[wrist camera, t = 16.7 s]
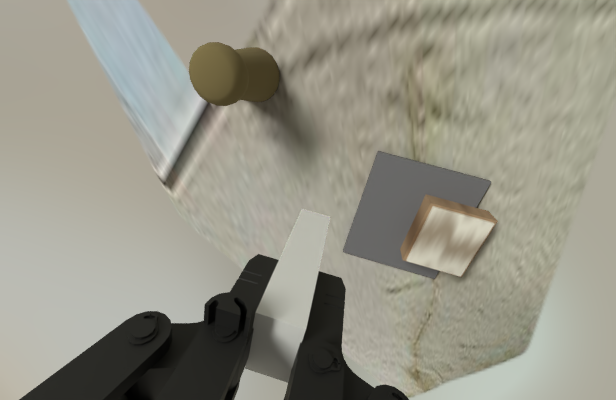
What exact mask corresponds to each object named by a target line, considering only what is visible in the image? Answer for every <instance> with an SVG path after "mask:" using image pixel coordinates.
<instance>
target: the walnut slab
mask: <svg viewBox="0 0 616 400" xmlns="http://www.w3.org/2000/svg"><path fill="white" fill-rule="evenodd" d="M497 222H498V221H497V220H496V219H495V218H494V217H493V216H492V215H491V214H490V212H489V211H486V210H482V209H478V208H475V207H471V206H467V205H464V204H460V203H456V202H453V201H449V200H445V199H441V198H438V197H434V196H430V195H427V194H426V195H425V197H424V199H423V201H422V204H421V206H420V208H419V210H418V212H417V214H416V216H415V218H414V220H413V223H412V225H411V227H410V229H409V231H408V233H407V235H406V237H405V240H404V242H403V244H402V246H401V248H400V251H401V255H402V260H404V261H407V262H411V263H414V264H417V265H421V266H424V267H428V268H431V269H435V270H438V271H442V272H445V273H449V274H452V275H456V276H459V277H462V276H463V274H464V273H465V271H466V270H467V268H468V267H469V265H470V263H471V262H472V260H473V259H474V257H475V256H476V254H477V253H478V251H479V250H480V248H481V246H482V245H483V243H484V242H485V240H486V239H487V237H488V236H489V234H490V232H491V231H492V229H493V228H494V226H495V225H496V223H497Z"/></svg>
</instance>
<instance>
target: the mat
mask: <svg viewBox="0 0 616 400" xmlns="http://www.w3.org/2000/svg"><path fill="white" fill-rule="evenodd" d="M490 184H491V181H489V180H486V179H482V178H478V177H475V176H471V175H467V174H463V173H460V172H456V171H452V170H448V169H445V168H441V167H437V166H433V165H430V164H426V163H422V162H418V161H414V160H411V159H407V158H403V157H399V156H396V155H392V154H388V153H384V152H381V151H378V152H377V155H376V158H375V161H374V164H373V166H372V169H371V172H370V175H369V178H368V181H367V183H366V186H365V189H364V192H363V195H362V198H361V201H360V203H359V206H358V209H357V212H356V215H355V218H354V220H353V223H352V226H351V229H350V232H349V235H348V237H347V240H346V243H345V246H344V249H343V252H345V253H348V254H351V255H355V256H358V257H362V258H365V259H368V260H372V261H375V262H379V263H382V264H386V265H389V266H392V267H396V268H399V269H403V270H406V271H409V272H413V273H416V274H420V275H423V276H426V277H430V278H433V279H435V277H436V275H437V274H438V272H439V271H438V270H435V269H431V268H428V267H424V266H421V265H417V264H414V263H411V262H407V261H404V260H402V255H401V251H400V248H401V246H402V244H403V242H404V240H405V237H406V235H407V233H408V231H409V229H410V227H411V225H412V223H413V220H414V218H415V216H416V214H417V212H418V210H419V208H420V206H421V204H422V201H423V199H424V197H425V195H426V194H427V195H430V196H434V197H438V198H441V199H445V200H449V201H453V202H456V203H460V204H464V205H467V206H471V207H475V208H476V207H477V206H478V204H479V202H480V200H481V199H482V197H483V195H484V194H485V192H486V190H487V189H488V187H489V185H490Z"/></svg>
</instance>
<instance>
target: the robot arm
mask: <svg viewBox="0 0 616 400" xmlns="http://www.w3.org/2000/svg"><path fill="white" fill-rule="evenodd" d="M329 221H330V216H326V215H323V214H319V213H316V212H312V211H309V210H305V209H301V212H300V214H299V216H298V218H297V220H296V223H295V225H294V227H293V229H292V232H291V234H290V236H289V238H288V241H287V243H286V245H285V247H284V250H283V252H282V254H281V256H280V259H279V260H277V259H273V258H270V257H266V256H263V255H260V254H258V255H257V256H255V257H254V258H252V259H251V260H249V262H248V263H247V265H246V266H245V268H244V270H243V271H242V273H241V275H240V276H239V279H238V280H237V281H236V283H235V285H234V286H233V288H232V290H231V291H230V292H228V293H221V294H218V295H216V296H214V297H212V298H211V299H210V300H209V301H208V302H207V303H206V304H205V311H204V321H201V322H198V323H189V324H187V323H186V324H185V323H184V324H182V323H180V324H179V323H175V324H174V323H171V321H170V319H169V318H168V317H167V316H166V315H165V314H163V313H160V312H157V311H154V312H153V311H150V312H149V311H148V312H143V313H140V314H136V315H135V316H133V317H131V318H129V319H128V320H126V321H125V322H123V323H122V324H121V325H119V326H118V327H117V328H115V329H114V330H113V331H111V332H110V333H108V334H107V335H106V336H104V337H103V338H102V339H100V340H99V341H98V342H96V343H95V344H94V345H92V346H91V347H90V348H88V349H87V350H86V351H84V352H83V353H82V354H80V355H79V356H77V357H76V358H75V359H73V360H72V361H71V362H70V363H68V364H67V365H65V366H64V367H63V368H61V369H60V370H59V371H57V372H56V373H55V374H53V375H52V376H51V377H49V378H48V379H46V380H45V381H44V382H43V383H41V384H40V385H38V386H37V387H36V388H34V389H33V390H32V391H30V392H29V393H28V394H26V395H25V396H24V397H22V398H21V399H20V400H234V398H235V395H236V393H237V390H238V387H239V382H240V377H241V375H242V373H243V370H244V367H245V365H246V367H245V368H246V369H249V370H252V371H255V372H258V373H261V374H264V375H267V376H270V377H273V378H276V379H279V380H282V381H285V382H288V386H287V391H286V394H285V398H284V400H409V399H408V398H407V397H406V396H405V394H404V393H402V392H401V391H399V390H398V389H396V388H395V387H392V386H389V385H380V386H376V388H374V387H372V386H371V385H369V384H368V383H366V382H365V381H364V380H362V379H361V378H359V377H358V376H357V375H356V374H355V373H353V372H352V370H351V369H350V368H349V367H348V366H347V364H346V362H345V360H344V358H343V354H342V346H341V345H342V331H343V317H344V304H345V302H344V301H345V290H346V289H345V286H344V284H343V281H342V279H341V278H339V277H336V276H333V275H329V274H326V273H323V272H319V268H320V263H321V258H322V254H323V249H324V244H325V240H326V235H327V231H328V226H329Z"/></svg>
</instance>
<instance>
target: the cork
mask: <svg viewBox="0 0 616 400" xmlns="http://www.w3.org/2000/svg"><path fill="white" fill-rule="evenodd" d="M189 74H190V80H191V82H192V84H193V87H194V89H195V90H196V91H197V93H198V94H199V95H200V97H202V98H203V99H204V100H206V101H207V102H209V103H212V104H215V105H218V106H227V105H230V104H233V103H236V102H237V101H238V100H246V101H253V102H262V101H265V100H268V99H269V98H270V97H271V96H273V95H274V93H275V91H276V90H277V88H278V84H279V69H278V66H277V63H276V62H275V60H274V59H273V57H272V56H271V55H270V54H269V53H268V52H266V51H265V50H263V49H260V48H244V49H237V50H234V49H233V48H231V47H230V46H228V45H225V44H222V43H219V42H212V43H211V42H210V43H207V44H205V45H202V46H200V47H199V48H198V49H197V50H196V51H195V52H194V53H193V55H192V58H191V60H190V66H189Z"/></svg>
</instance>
